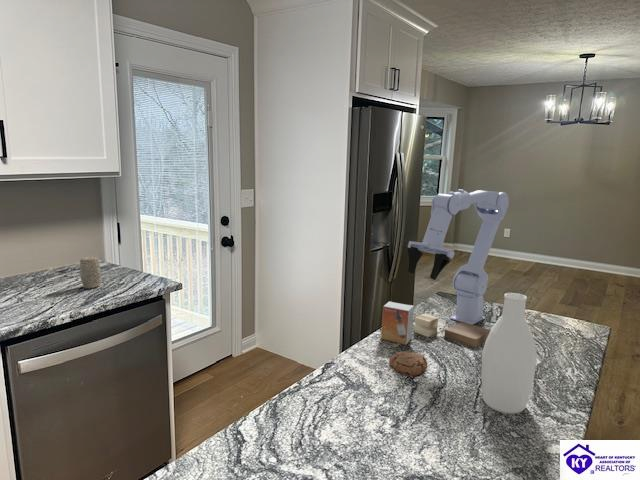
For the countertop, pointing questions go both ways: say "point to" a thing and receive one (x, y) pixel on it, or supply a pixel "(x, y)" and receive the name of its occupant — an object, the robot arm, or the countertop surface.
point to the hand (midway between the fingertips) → (421, 275)
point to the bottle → (509, 359)
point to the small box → (397, 322)
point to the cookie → (408, 363)
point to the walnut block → (467, 334)
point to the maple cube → (426, 325)
